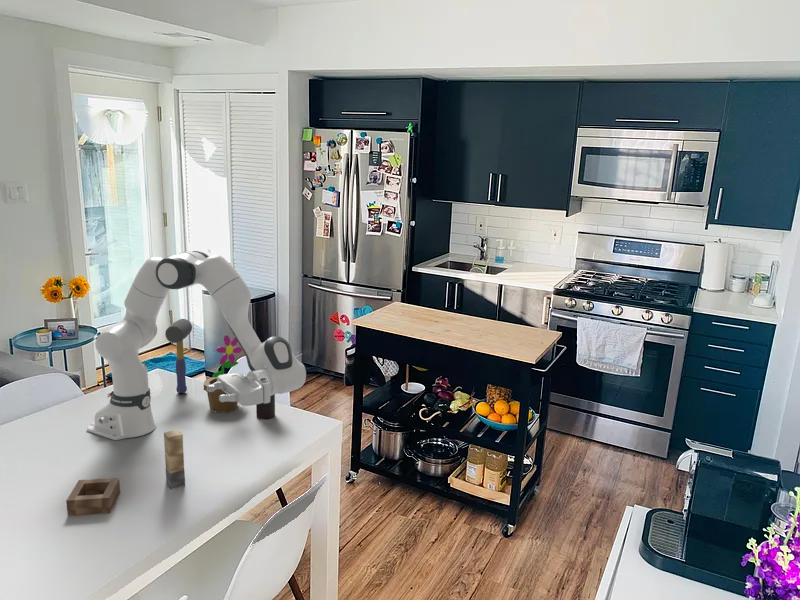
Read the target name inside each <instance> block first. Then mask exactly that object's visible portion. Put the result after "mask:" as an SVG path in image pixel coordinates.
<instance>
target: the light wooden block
mask: <svg viewBox="0 0 800 600" xmlns="http://www.w3.org/2000/svg"><path fill="white" fill-rule="evenodd" d="M163 441H164V460H165V481H166V482H165V483H166V485H167V487H168V488H169V489H170V490H173V488H174V489H177V488H180V486H181V487H184V486H186V477H185V476H186V475H185V474H186V473H185V471H186V470H185V460H184V459H185V458H184V457H185V456H184V454H185V453H184V437H183V433H182V432H181V431H180V430H179V429H173V430H169V431H165V432H163ZM183 485H184V486H183Z"/></svg>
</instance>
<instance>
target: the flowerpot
mask: <svg viewBox="0 0 800 600" xmlns="http://www.w3.org/2000/svg"><path fill="white" fill-rule="evenodd" d="M230 338H231V337H229V335H228V334H225V335H224V337H223V342H224V345H225V346H226V347H225V346H222V345H221V346H218V347H216V350H215V351H216V353H219V354H222V356H220V357H221V358H220V360H219V364H220V365H221V370H220V371H219V370H218V371H216V372H214V373H213V375H212V377H209V378H207V379H206V380H204V382H203V390H204V391H205V392H206V393H207V400H208V406H209V410H211V411H212V410H213V411H212V412H214V411H216V413H228V411H229V412H232V411H231V410H233V411H234V410H237V408H238V404H239V403H238V402H237V401H235V402H230V401H226V402H221V401H220V400H219V395H222V394H225V395H228V394H227V393H225V392H224V391H223V390H221V389H216V390H214V391H213V392H209V391H207V386H208V385H212V384H214V383H215V382H217V377H218V376H219V375H223V374H225V368H226V369H230V368H233V367H235V366H236V365H238V364H239V362H238V361H236V358H235V355H234V354H240V353H241V352H243V349H242V348H241V346H236V345H237V344H238V341H237V339H236V338H235V336H234V337H233V338H232V340H231V339H230ZM233 353H234V354H233Z"/></svg>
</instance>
